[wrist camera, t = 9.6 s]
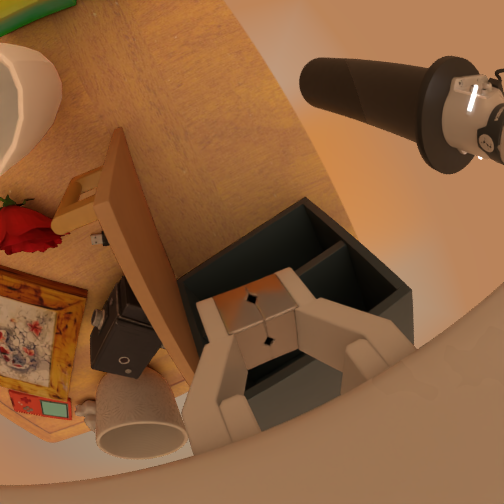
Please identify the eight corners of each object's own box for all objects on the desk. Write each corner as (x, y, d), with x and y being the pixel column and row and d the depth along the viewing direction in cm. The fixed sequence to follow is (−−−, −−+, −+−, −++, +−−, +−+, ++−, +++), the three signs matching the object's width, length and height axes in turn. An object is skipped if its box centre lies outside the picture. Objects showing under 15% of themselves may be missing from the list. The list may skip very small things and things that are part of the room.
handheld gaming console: (8, 391, 47) (70, 401, 54) (8, 387, 48) (70, 397, 55) (14, 412, 50) (71, 421, 58) (15, 408, 51) (71, 416, 58)
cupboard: (175, 281, 49) (217, 416, 30) (305, 196, 49) (412, 289, 30) (228, 336, 60) (278, 445, 41) (334, 268, 61) (413, 356, 41)
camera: (137, 333, 53) (176, 276, 48) (143, 387, 45) (188, 333, 40) (83, 316, 47) (114, 252, 42) (79, 373, 39) (111, 311, 34)
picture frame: (86, 298, 42) (66, 402, 52) (87, 290, 44) (67, 393, 54) (-63, 252, 28) (-45, 371, 38) (-58, 245, 30) (-42, 364, 40)
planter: (117, 406, 61) (126, 465, 49) (75, 367, 51) (77, 435, 39) (183, 385, 64) (201, 445, 52) (150, 341, 54) (165, 412, 42)
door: (136, 291, 47) (158, 430, 28) (72, 146, 33) (9, 243, 14) (175, 277, 49) (217, 411, 30) (121, 126, 34) (108, 199, 15)
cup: (-4, 92, 25) (-107, 127, 8) (58, 34, 25) (-15, 3, 8) (38, 149, 31) (-34, 228, 14) (101, 95, 31) (64, 119, 14)
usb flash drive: (92, 244, 41) (92, 247, 40) (90, 231, 40) (90, 235, 39) (145, 239, 43) (146, 242, 43) (144, 227, 42) (145, 230, 42)
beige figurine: (101, 409, 60) (104, 439, 54) (74, 406, 57) (75, 436, 51) (103, 397, 58) (106, 428, 52) (74, 394, 55) (75, 425, 49)
